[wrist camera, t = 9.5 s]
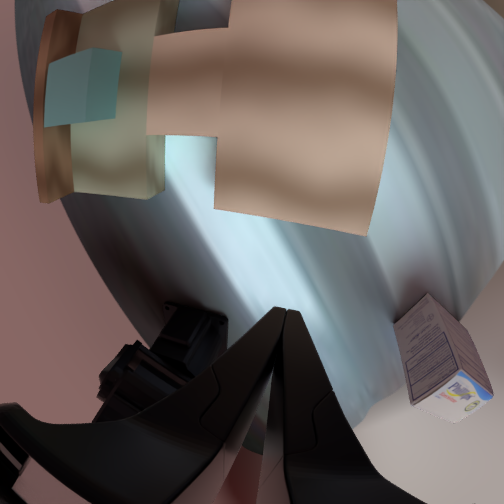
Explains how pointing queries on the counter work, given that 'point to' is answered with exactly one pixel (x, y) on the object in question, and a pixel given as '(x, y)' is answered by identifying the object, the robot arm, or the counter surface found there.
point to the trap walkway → (233, 105)
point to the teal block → (82, 87)
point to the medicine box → (440, 362)
